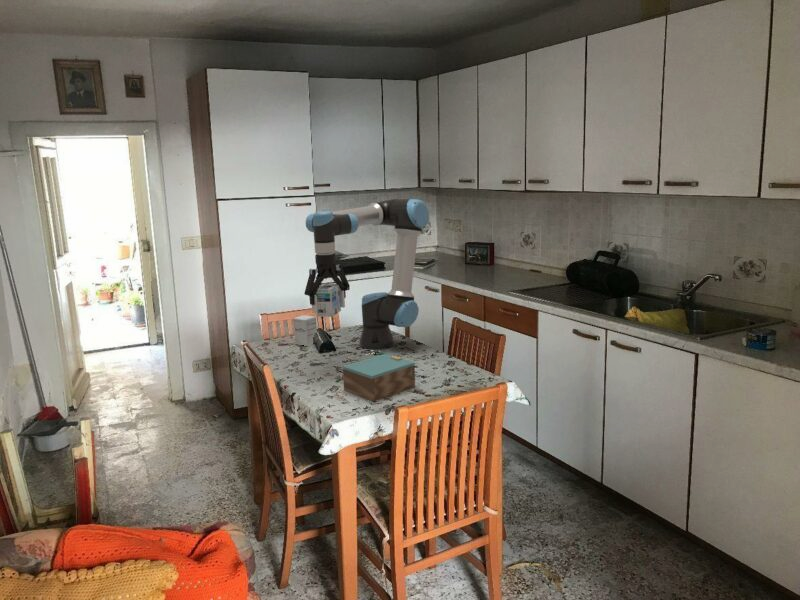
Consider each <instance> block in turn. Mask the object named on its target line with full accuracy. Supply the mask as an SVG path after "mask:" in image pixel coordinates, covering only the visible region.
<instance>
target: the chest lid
mask: <svg viewBox="0 0 800 600" xmlns="http://www.w3.org/2000/svg"><path fill="white" fill-rule="evenodd" d="M414 365H415V362H414V361H411V360H408V359H404V358H403V357H400V356H397V355H391V354H387V353H384V354H379V355H377V356H373V357H369V358H366V359H363V360H359V361H356V362H353V363H350V364H345V365H343V366H342V370H343V369H345V370H347V371H350V372H353V373H356V374H359V375H362V376H365V377H368V378H370V379H373V378H376V377H380V376H383V375H386V374H389V373H392V372H395V371H398V370H401V369H404V368H408V367H411V366H414Z"/></svg>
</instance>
